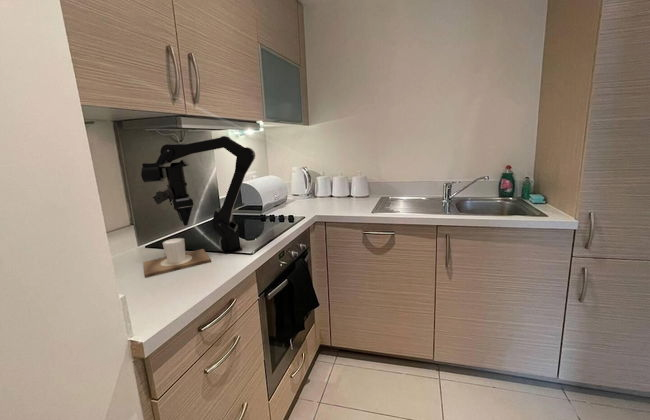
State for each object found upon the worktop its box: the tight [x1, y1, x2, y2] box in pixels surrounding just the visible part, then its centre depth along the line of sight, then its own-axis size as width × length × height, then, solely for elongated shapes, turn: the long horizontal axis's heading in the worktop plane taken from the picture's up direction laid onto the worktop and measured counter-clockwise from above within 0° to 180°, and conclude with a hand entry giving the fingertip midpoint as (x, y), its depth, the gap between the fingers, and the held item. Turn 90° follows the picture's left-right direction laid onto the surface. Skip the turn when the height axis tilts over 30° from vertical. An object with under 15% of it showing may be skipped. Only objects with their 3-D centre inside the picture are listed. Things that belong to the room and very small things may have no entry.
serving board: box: [142, 248, 212, 279], centre depth 112 cm, size 20×14×1 cm
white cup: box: [162, 237, 186, 263], centre depth 111 cm, size 7×7×7 cm
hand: (183, 223), depth 118 cm, fingers open, 9 cm apart
